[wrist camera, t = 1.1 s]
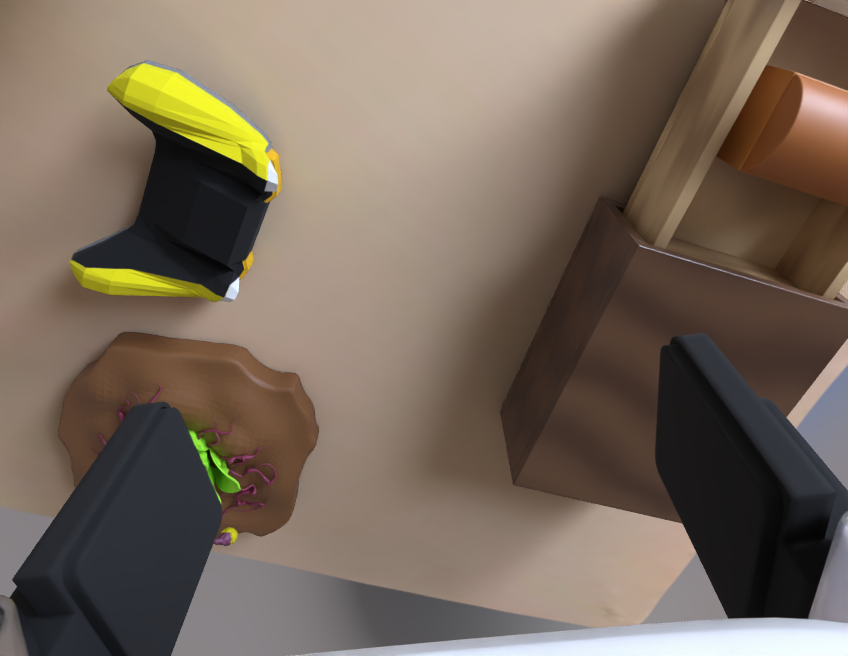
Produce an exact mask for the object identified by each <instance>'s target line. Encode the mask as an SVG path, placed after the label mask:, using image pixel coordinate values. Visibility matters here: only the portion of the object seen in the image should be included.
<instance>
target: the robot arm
mask: <svg viewBox="0 0 848 656" xmlns="http://www.w3.org/2000/svg"><path fill="white" fill-rule="evenodd" d="M655 462H656V467H657V470H658V473H659V475H660V478H661V480H662V482H663V484H664V486H665V488H666V490H667V492H668V494H669V496H670V498H671V500H672V502H673V505H674V507H675V509H676V511H677V513H678V515H679V517H680V519H681V521H682V523H683V525H684V527H685V529H686V532H687V534H688V536H689V538H690V540H691V542H692V544H693V546H694V548H695V550H696V552H697V554H698V556H699V558H700V561H701V563H702V565H703V566H704V569H705V571H706V573H707V575H708V577H709V579H710V581H711V583H712V586H713V588H714V590H715V592H716V594H717V596H718V598H719V600H720V602H721V604H722V606H723V608H724V610H725V613H726V615H727V617H728V619H712V620H698V621H684V622H669V623H655V624H640V625H626V626H613V627H602V628H590V629H579V630H569V631H556V632H545V633H534V634H533V633H532V634H521V635H509V636H497V637H487V638H474V639H463V640H452V641H441V642H430V643H419V644H408V645H397V646H387V647H375V648H364V649H354V650H343V651H333V652H321V653H311V654H300V655H290V656H848V490H847V489H846V488H845V487H844V486H843V485H842V484H841V482H840V481H839V480H838V479H837V477H836V476H835V475H834V474H833V473H832V471H831V470H830V469H829V468H828V467H827V465H826V464H825V463H824V462H823V461H822V459H821V458H820V457H819V456H818V455H817V454H816V452H815V451H814V450H813V449H812V448H811V446H809V444H808V443H807V442H806V440H805V439H804V438H803V437H802V436H801V435H800V433H799V432H798V431H797V430H796V429H795V427H794V426H793V425H792V424H791V423H790V421H789V420H788V419H787V418H786V417H785V415H784V414H783V413H782V412H781V411H780V410H779V408H778V407H777V406H776V405H775V404H774V403H773V402H772V401H771V400H770V399H768V398H765V397H760V398H759V397H758V396H757V394H756V393H755V392H754V391H753V389H752V388H751V387H750V386H749V385H748V383H747V382H746V381H745V380H744V378H743V377H742V376H741V375H740V373H739V372H738V371H737V370H736V369H735V367H734V366H733V365H732V364H731V362H730V361H729V360H728V359H727V358H726V356H725V355H724V354H723V353H722V351H721V350H720V349H719V348H718V347H717V345H716V344H715V343H714V342H713V340H712V339H711V338H710V337H709V336H708V335H707V334H706V333H698V334H691V335H683V336H675V337H673V338H671V341H670V345H665V346H662V348H661V351H660V367H659V386H658V405H657V424H656V443H655ZM221 521H222V506H221V503H220V500H219V498H218V496H217V494H216V491H215V489H214V487H213V485H212V482H211V480H210V478H209V476H208V473H207V471H206V469H205V467H204V464H203V462H202V460H201V458H200V455H199V453H198V451H197V449H196V446H195V444H194V442H193V440H192V437H191V435H190V433H189V431H188V428H187V426H186V424H185V422H184V420H183V417H182V415H181V413H180V411H179V410H178V409H177V408H174V407H173V408H171V406H170V405H169V404H168V403H167V402H155V403H147V404H139V405H135V406H133V407H132V408H131V409H130V411H129V412H128V414H127V415H126V416H125V418H124V419H123V421H122V422H121V424H120V425H119V427H118V428H117V429H116V431H115V432H114V434H113V435H112V437H111V438H110V439H109V441H108V442H107V444H106V445H105V447H104V448H103V450H102V451H101V452H100V454H99V455H98V457H97V458H96V460H95V461H94V462H93V464H92V465H91V467H90V468H89V470H88V471H87V473H86V474H85V475H84V477H83V478H82V480H81V481H80V483H79V484H78V485H77V487H76V488H75V490H74V491H73V493H72V494H71V496H70V497H69V498H68V500H67V501H66V503H65V504H64V506H63V507H62V509H61V510H60V511H59V513H58V514H57V516H56V517H55V519H54V520H53V521H52V523H51V524H50V526H49V527H48V529H47V530H46V532H45V533H44V534H43V536H42V537H41V539H40V540H39V542H38V543H37V544H36V546H35V547H34V549H33V550H32V552H31V553H30V555H29V556H28V557H27V559H26V560H25V562H24V563H23V565H22V566H21V568H20V569H19V570H18V572H17V573H16V575H15V576H14V578H13V582H14V583H15V584H16V585H17V588H16V589H15V591H14V592H13V594H12V595H11V597H10V598H8V597H6V596H3V595H0V656H171V653H172V651H173V648H174V646H175V643H176V641H177V638H178V635H179V633H180V630H181V627H182V625H183V622H184V619H185V616H186V614H187V612H188V609H189V606H190V604H191V601H192V598H193V596H194V593H195V590H196V587H197V585H198V582H199V580H200V577H201V575H202V572H203V569H204V567H205V564H206V561H207V559H208V556H209V553H210V551H211V548H212V546H213V543H214V540H215V538H216V535H217V532H218V530H219V527H220V524H221Z"/></svg>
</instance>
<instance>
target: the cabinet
mask: <svg viewBox="0 0 848 656" xmlns="http://www.w3.org/2000/svg"><path fill="white" fill-rule="evenodd" d="M625 207H626V205H623V204H620V203H617V202H613V201H610V200H607V199H604V198H599V200H598V202H597V204H596V206H595V208H594V210H593V212H592V215H591V217H590V219H589V221H588V223H587V225H586V227H585V230H584V232H583V234H582V236H581V238H580V240H579V242H578V245H577V247H576V249H575V251H574V253H573V255H572V257H571V260H570V262H569V264H568V266H567V268H566V270H565V273H564V275H563V277H562V279H561V281H560V283H559V285H558V288H557V290H556V292H555V294H554V296H553V298H552V300H551V303H550V305H549V307H548V309H547V311H546V313H545V315H544V318H543V320H542V322H541V324H540V326H539V328H538V330H537V333H536V335H535V337H534V339H533V341H532V343H531V345H530V348H529V350H528V352H527V354H526V356H525V358H524V360H523V363H522V365H521V367H520V369H519V371H518V373H517V375H516V378H515V380H514V382H513V384H512V386H511V388H510V390H509V393H508V395H507V397H506V399H505V401H504V403H503V405H502V408H501V410H500V415H501V420H502V425H503V431H504V436H505V442H506V448H507V453H508V459H509V464H510V470H511V475H512V480H513V485H516V486H520V487H524V488H529V489H533V490H538V491H542V492H546V493H551V494H555V495H560V496H564V497H568V498H573V499H577V500H582V501H586V502H591V503H595V504H599V505H604V506H608V507H613V508H617V509H621V510H626V511H630V512H635V513H639V514H643V515H648V516H652V517H657V518H661V519H665V520H670V521H674V522H679V523H682V521H681V519H680V517H679V515H678V513H677V511H676V509H675V507H674V505H673V502H672V500H671V498H670V496H669V494H668V492H667V490H666V488H665V486H664V484H663V482H662V480H661V478H660V475H659V473H658V470H657V467H656V462H655V443H656V424H657V405H658V386H659V367H660V351H661V348H662V346H665V345H670V341H671V338H673V337H675V336H683V335H691V334H698V333H706V334H707V335H708V336H709V337H710V338H711V339H712V340H713V342H714V343H715V344H716V345H717V347H718V348H719V349H720V350H721V351H722V353H723V354H724V355H725V356H726V358H727V359H728V360H729V361H730V362H731V364H732V365H733V366H734V367H735V369H736V370H737V371H738V372H739V373H740V375H741V376H742V377H743V378H744V380H745V381H746V382H747V383H748V385H749V386H750V387H751V388H752V389H753V391H754V392H755V393H756V394H757V396H758V397H759V398H760V397H765V398H768V399H770V400H771V401H772V402H773V403H774V404H775V405H776V406H777V407H778V408H779V410H780V411H781V412H782V413H783V414H784V415H785V417H787V416H788V414H789V413H790V412H791V411H792V409H793V408H794V407H795V405H796V404H797V403H798V402H799V400H800V399H801V398H802V396H803V395H804V394H805V393H806V391H807V390H808V389H809V387H810V386H811V385H812V384H813V382H814V381H815V380H816V378H817V377H818V376H819V375H820V373H821V372H822V371H823V369H824V368H825V367H826V366H827V364H828V363H829V362H830V360H831V359H832V358H833V357H834V355H835V354H836V353H837V351H838V350H839V349H840V348H841V346H842V345H843V344H844V342H845V341H846V340H847V339H848V299H846V298H845V297H844V296H842V295H841V294H840V293H838V294H837V295H836V297H835V298H834V299H829V298H826V297H823V296H820V295H816V294H813V293H810V292H806V291H803V290H800V289H796V288H793V287H790V286H786V285H783V284H780V283H777V282H773V281H770V280H767V279H763V278H760V277H757V276H753V275H750V274H747V273H743V272H740V271H737V270H734V269H730V268H727V267H724V266H720V265H717V264H714V263H710V262H707V261H704V260H701V259H697V258H694V257H691V256H687V255H684V254H681V253H677V252H674V251H671V250H667V249H664V248H661V247H658V246H654V245H651V244H648V243H647V242H646V241H645V240H644V239H643V238H642V236H641V235H640V234H639V233H638V232H637V231H636V229H635V228H634V227H633V226H632V225H631V224H630V222H629V221H628V220H627V219H626V218H625V217H624V215H623V214H622V213H623V211H624V209H625Z"/></svg>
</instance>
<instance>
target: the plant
mask: <svg viewBox="0 0 848 656" xmlns="http://www.w3.org/2000/svg"><path fill="white" fill-rule="evenodd" d="M155 402H167V403H168V404H169V405H170V406H171V408H173V407H174V408H177V409H178V410H179V411H180V413H181V415H182V417H183V420H184V422H185V424H186V426H187V428H188V431H189V433H190V435H191V437H192V440H193V442H194V444H195V446H196V449H197V451H198V453H199V455H200V458H201V460H202V462H203V464H204V467H205V469H206V471H207V473H208V476H209V478H210V480H211V482H212V485H213V487H214V489H215V491H216V494H217V496H218V498H219V500H220V503H221V506H222V521H221V524H220V527H219V530H218V532H217V535H216V538H215V540H214V543H213V544H216V545H219V544H220V545H224V546H228V545H231V544H233V543H235V541H236V539H237V537H238V534H239V533H242V532H249V533H252V534H254V535H257V536H260V537H261V536H265V535H267V534H269V533H272V532H274V531H276V530H277V529H279V528H281V527H282V526H283V525H284V524H286V523H287V521H288V520H289V519H290V517H291V515H292V513H293V510H294V506H295V502H296V498H297V493H298V485H299V477H300V474H301V472H302V469H303V466H304V463H305V461H306V459H307V457H308V455H309V454H310V453H311V452H312V451H313V449H314V447H315V446H316V442H317V438H318V433H319V427H318V425H317V424H316V420H315V411H314V407H313V404H312V402H311V400H310V398H309V397H308V396H307V394H306V393H305V391H304V389H303V387H302V384H301V382H300V378H299V376H298V375H297V374H295V373H282V372H277V371H274V370H271V369H269V368H267V367H266V366H264V365H262V364H261V363H260V362H258V361H257V360H256V359H255V358H254V357H253V356H252V355H251V354H250V353H249V351H248V350H247V349H245V348H243V347H240V346H236V345H232V344H222V343H212V342H205V341H196V340H187V339H177V338H168V337H162V336H157V335H151V334H143V333H135V332H123V333H121V334H119V335H118V337H117V338H116V339H115V340H114V341H113V342H112V344H111V345H110V346H109V347H108V348H107V350H106V351H105V352H104V353H103V355H102V356H101V357H100V358H98V359H97V360H95V361H93V362H91V363H90V364H88V365H87V366H86V367H85V368H84V369H83V371H82V372H81V373H80V374H79V375H78V376H77V377H76V379H75V380H74V381H73V383H72V384H71V386H70V388H69V389H68V391H67V393H66V395H65V397H64V402H63V409H62V414H61V418H60V423H59V427H58V437H59V439H60V440H61V442H62V443H63V444H64V446H65V447H66V449H67V450H68V452H69V455H70V459H71V465H72V472H73V476H74V486H75V487H77V485H78V484H79V483H80V481H81V480H82V478H83V477H84V475H85V474H86V473H87V471H88V470H89V468H90V467H91V465H92V464H93V462H94V461H95V460H96V458H97V457H98V455H99V454H100V452H101V451H102V450H103V448H104V447H105V445H106V444H107V442H108V441H109V439H110V438H111V437H112V435H113V434H114V432H115V431H116V429H117V428H118V427H119V425H120V424H121V422H122V421H123V419H124V418H125V416H126V415H127V414H128V412H129V411H130V409H131V408H132V407H133V406H135V405H139V404H147V403H155Z"/></svg>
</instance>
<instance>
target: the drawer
mask: <svg viewBox="0 0 848 656" xmlns="http://www.w3.org/2000/svg"><path fill="white" fill-rule="evenodd" d="M766 65H770V66H774V67H778V68H782V69H786V70H790V71H794V72H797V73H800V74H803V75H805V76H808V77H811V78H813V79H816V80H819V81H822V82H824V83H827V84H830V85H833V86H835V87H838V88H841V89H844V90H846V91H848V17H846V16H843V15H841V14H838V13H835V12H833V11H830V10H828V9H825V8H823V7H820V6H817V5H815V4H812V3H810V2H807V1H804V0H728V1H727V3H726V5H725V7H724V9H723V11H722V13H721V15H720V17H719V19H718V21H717V23H716V25H715V27H714V29H713V31H712V33H711V35H710V37H709V39H708V41H707V43H706V45H705V47H704V49H703V51H702V53H701V55H700V57H699V59H698V61H697V63H696V65H695V67H694V69H693V71H692V74H691V76H690V78H689V80H688V82H687V84H686V86H685V88H684V90H683V92H682V94H681V96H680V98H679V100H678V102H677V104H676V106H675V108H674V110H673V112H672V114H671V116H670V118H669V120H668V122H667V124H666V126H665V128H664V130H663V132H662V134H661V136H660V138H659V140H658V142H657V144H656V147H655V149H654V151H653V153H652V155H651V157H650V159H649V161H648V163H647V165H646V167H645V169H644V171H643V173H642V175H641V177H640V179H639V181H638V183H637V185H636V187H635V189H634V191H633V193H632V195H631V197H630V199H629V201H628V203H627V205H626V207H625V209H624V211H623V213H622V214H623V215H624V217H625V218H626V219H627V220H628V221H629V222H630V224H631V225H632V226H633V227H634V228H635V229H636V231H637V232H638V233H639V234H640V235H641V236H642V238H643V239H644V240H645V241H646V242H647V243H648V244H651V245H654V246H658V247H661V248H664V249H667V250H671V251H674V252H677V253H681V254H684V255H687V256H691V257H694V258H697V259H701V260H704V261H707V262H710V263H714V264H717V265H720V266H724V267H727V268H730V269H734V270H737V271H740V272H743V273H747V274H750V275H753V276H757V277H760V278H763V279H767V280H770V281H773V282H777V283H780V284H783V285H786V286H790V287H793V288H796V289H800V290H803V291H806V292H810V293H813V294H816V295H820V296H823V297H826V298H829V299H834V298H835V297H836V295H837V294H838V292H839V291H840V290H841V288H842V287H843V286H844V284H845V283H846V282H847V280H848V206H845V205H842V204H839V203H836V202H833V201H830V200H827V199H824V198H821V197H817V196H814V195H811V194H808V193H805V192H802V191H799V190H796V189H793V188H790V187H787V186H784V185H781V184H778V183H775V182H772V181H769V180H766V179H763V178H760V177H757V176H754V175H751V174H748V173H745V172H742V171H739V170H737V169H736V168H734V167H732V166H731V165H729V164H727V163H726V162H724V161H722V160H721V159H719V158H717V157H716V155H717V153H718V151H719V150H720V148H721V146H722V144H723V142H724V140H725V139H726V137H727V135H728V133H729V131H730V130H731V128H732V126H733V124H734V122H735V120H736V119H737V117H738V115H739V113H740V111H741V109H742V108H743V106H744V104H745V102H746V100H747V98H748V97H749V95H750V93H751V91H752V89H753V88H754V86H755V84H756V82H757V80H758V78H759V77H760V75H761V73H762V71H763V69H764V67H765V66H766Z"/></svg>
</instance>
